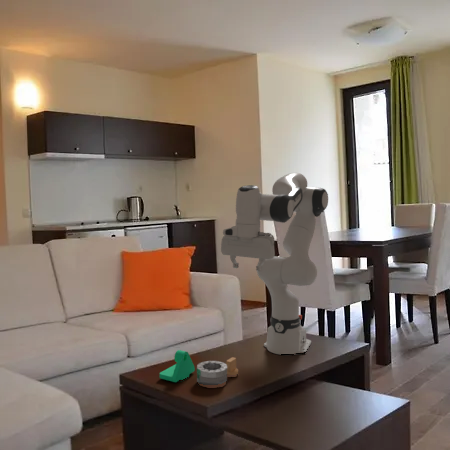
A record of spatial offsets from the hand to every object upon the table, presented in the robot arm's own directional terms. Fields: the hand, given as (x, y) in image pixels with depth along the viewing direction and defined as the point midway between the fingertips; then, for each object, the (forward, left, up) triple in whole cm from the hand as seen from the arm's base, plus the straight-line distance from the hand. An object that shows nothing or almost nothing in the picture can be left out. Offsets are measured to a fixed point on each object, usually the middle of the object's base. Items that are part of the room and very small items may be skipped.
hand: (247, 269), depth 196 cm
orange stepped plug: (+3, -4, -40) cm, 40 cm away
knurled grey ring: (+13, -7, -40) cm, 42 cm away
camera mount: (+15, -21, -40) cm, 47 cm away
